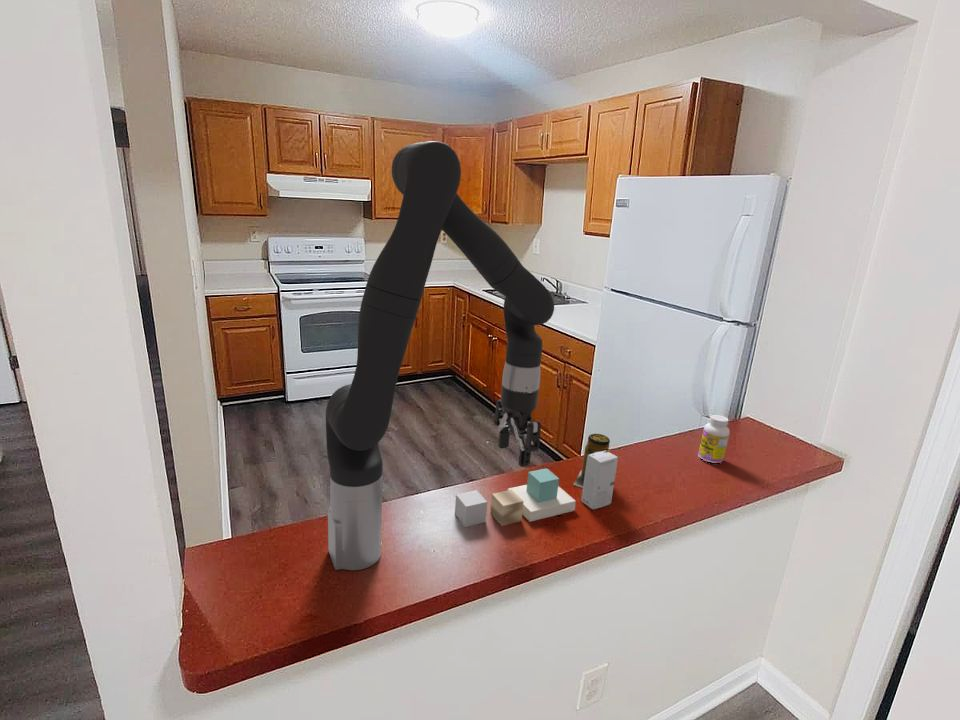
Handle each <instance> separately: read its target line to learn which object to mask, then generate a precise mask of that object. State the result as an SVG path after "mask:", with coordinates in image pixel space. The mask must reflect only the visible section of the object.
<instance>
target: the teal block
mask: <svg viewBox="0 0 960 720" xmlns="http://www.w3.org/2000/svg"><path fill="white" fill-rule="evenodd" d="M559 482H560V478H559V477H558V476H557V475H555V474H554V473H553V471H551V470H550V469H548V468H541V469H540V468H539V469H537V470H531V471H528V473H527V481H526V485H527V490H526V491H527V492H528V493H529V494H530V495H531V496H532V497H533V498H534V499H535V500H536V501H537V502H538V503H539V502H543V501H547V500H551V499H556V498H557V492H558V486H559Z"/></svg>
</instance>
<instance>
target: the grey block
mask: <svg viewBox="0 0 960 720" xmlns="http://www.w3.org/2000/svg"><path fill="white" fill-rule="evenodd" d="M487 508H488V501H487V499H485V497H483V495H482V494H481V493H480V492H479V491H478V490H477V489H475V490H471V491H466V492H461V493H457V494H455V507H454V515H455V516H457V517H458V518H457V517H456V518H457V519H458V521H459V522H460V521H461V522H460V523H461V525H462V526H463V525H464V526H463V527H464V528H467V527H470V526H475V525H479V524H482V523H486V521H487V518H486V517H487V511H488V509H487ZM474 524H475V525H474ZM466 526H467V527H466Z"/></svg>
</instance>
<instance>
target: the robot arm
mask: <svg viewBox="0 0 960 720" xmlns="http://www.w3.org/2000/svg"><path fill="white" fill-rule="evenodd" d="M393 157H394V158H393V161H392V163H391V177H392V181H393V183H394V186H395V188H396V189H397V190H398V191H399V193H400V194H402V200H401V203H400V204H401V205H400V210H399V214H398V217H397V220H396V222H395V223H396V224H395V226H394V229H393V231H392V233H391V235H390V236H389V238H388V240H387V242H386V244H385V245H384V247H383V248H382V250H381V252H380V253H379V254H378V256H377V259H376V260H375V262H374V264H373V266H372V268H371V270H370V273H369V275H368V278H367V281H366V284H365V289H364V291H363V295H362V300H361V303H360V309H359V314H358V320H357V321H358V323H357V359H356V366H355V371H354V375H353V378H352V381H351V383H350V384H345V385H342V386H341V387H339V388H337V389H336V390H335V391H334V392H333V393H332V395H331V396H330V397H329V400H328V401H327V405H326V409H325V438H326V454H327V460H328V465H329V480H330V481H329V486H330V487H329V488H330V490H329V491H330V492H329V494H330V497H329V498H330V501H329V502H330V504H329V505H330V506H329V507H327V535H328V536H327V537H328V538H327V539H328V540H327V541H328V543H327V544H328V545H327V546H328V547H327V549H328V553H329V556H330V559H331V562H332V565H333V568H334V570H335V571H338V570H339V571H340V570H346V571H359V570H360V571H361V570H364V569H367V568H370V567H371V566H373V565H375V564H376V563H377V562H378V561H379V560H380V558H381V557H382V556H381V555H382V525H383V524H382V523H383V522H382V519H383V515H382V513H383V474H384V473H383V468H384V467H383V466H384V464H383V457H382V454H381V449H380V447H379V445H380V444H379V442H380V441H381V440H382V439H383V437H384V436H385V434H386V432H387V431H388V429H389V424H390V421H391V420H390V419H391V415H392V414H391V413H392V409H393V404H394V398H395V392H396V387H397V384H398V378H399V373H400V371H401V367H402V363H403V361H404V358H405V354H406V352H407V347H408V344H409V342H410V338H411V334H412V330H413V327H414V325H415V322H416V320H417V319H416V318H417V316H418V312H419V308H420V304H421V302H422V299H423V296H424V295H423V294H424V291H425V286H426V283H427V280H428V276H429V273H430V269H431V266H432V261H433V260H434V259H433V258H434V255H435V251H436V247H437V245H438V241H439V239H440V235H441V232H442V231H443V232H444V233H445V234H446V236H448V238H449V239H450V240H451V241H452V243H454V244H455V246H456V247H457V248H458V249H459V250H460V251H461V252H462V254H464V256H465V257H466V258H467V260H468V261H470V263H471V264H472V265H473V267H474V269H476V271H477V272H478V273H479V274H480V275H481V277H482V278H483V279H484V281H486V283H487V284H488V285H489V286H490V288H492V289H493V290H494V291H496V292H498V293H499V294H501V295H503V296H504V297H505V298H504V301H503V319H504V327H505V335H506V340H507V343H506V351H505V352H506V353H505V361H504V367H503V369H502V370H503V371H502V382H501V391H500V399H498V400H496V402H495V403H496V404H495V412H494V419H493V423H494V426H497V431H498V432H499V433H498V442H497V443H498V445H497V446H498V448H499V449H502V450H503V449H506V448H508V447H509V444H510V437H511V436H510V435H511V431H510V430H512V432H513V433H514V435H515V436H514V437H515V440H517V441H518V442H519V446H520V449H519V455H518V465H519V466H520V467H521V468H524V467H528V466H529V465H530V463H531V455H532V452H535V451H539V450H540V442H541V441H540V440H541V428H542V424H541V422H540V421H534V420H533V417H532V413H533V411H534V410H535V409H537V407H538V401H539V400H538V399H539V391H540V383H541V364H542V363H541V362H542V355H543V340H542V337H541V336H540V335H539V334H538V333H537V332H536V330H535V326H540V325H543V324H545V323H547V322H549V321H550V320H551V319H552V316H553V315H554V311H555V301H554V298H553V295H552V294H551V292H550V291H549V289H548V288H547V287H546V286H545V285H544V284H543V283H542V282H541V281H540V279H538V278H537V277H536V276H535V275H534V274H532V272H530V271H529V270H528V269H526V268H525V266H523V264H522V263H521V261H520V259H519V258H518V256H516V254H515V253H514V252H513V251H512V249H511V247H510V246H508V244H507V243H506V241H505V240H504V239H503V238H502V237H501V236H500V235H499V234H498V233H497V232H496V230H494V229H493V228H492V227H491V226H490V225H489V224H488V223H486V222H485V221H484V220H483V219H482V218H480V216H478V215H477V214H476V212H474V211H473V210H472V209H471V208H470V207H469V206H468V205H467V204H466V202H464V200H463V199H462V198H461V196H460V195H459V194H458V193H457V192H458V190H459V186H460V183H461V178H462V168H461V162H460V159H459V156H458V154H457V153H456V151H455V150H454V149H453V147H451V146H450V145H448V144H447V143H445V142H442V141H436V140H435V141H433V140H432V141H431V140H429V141H421V142H415V143H411V144H408V145H405V146H404V147H402V148H400V150H398V151H397V152H396V154H395V155H394V156H393ZM501 416H502V417H501ZM500 417H501V418H500ZM522 433H524V434H522Z"/></svg>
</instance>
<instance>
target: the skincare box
mask: <svg viewBox="0 0 960 720" xmlns="http://www.w3.org/2000/svg"><path fill="white" fill-rule="evenodd" d="M618 460H619V457H618V456H617V455H615V454H613V453H611V452H608V451H606V450H605V451H601V452H595V453H593V454H589V455H588V456H587V463H586V470H585V477H584V484H583V488H582V491H581V492H582V493H581V499H580V501H581V502H582V503H583V504H584V505H586V507H588V508H590V509H592V510H597V509H600V508H604V507H606V506H609V505H611V504H612V500H613V493H614V487H615V486H614V485H615V480H616V474H617V468H618Z"/></svg>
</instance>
